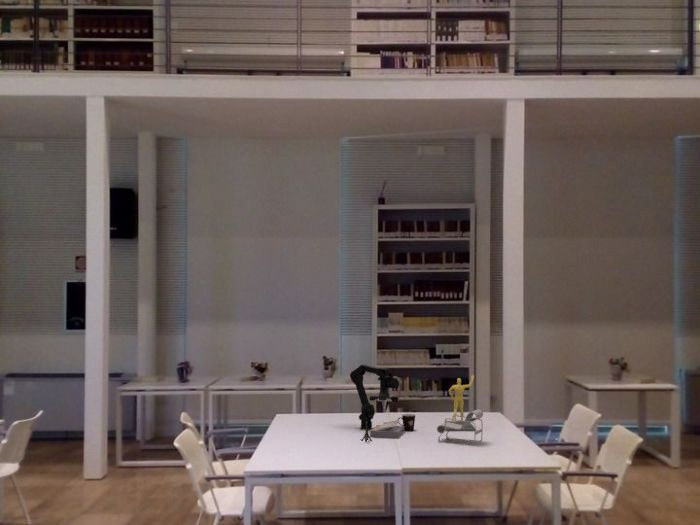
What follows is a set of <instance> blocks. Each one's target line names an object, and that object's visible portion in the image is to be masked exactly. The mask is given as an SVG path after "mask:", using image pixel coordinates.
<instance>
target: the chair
mask: <svg viewBox="0 0 700 525" xmlns="http://www.w3.org/2000/svg"><path fill="white" fill-rule="evenodd" d="M474 415H475V417H474ZM454 416H456V417H458V418H459V417H460V418H461V417H463V418H465V419H464V420H463V422H464V423H463V425H459V424H454V423H450V422H447V423H446V421H448V420H449V421H452V422H453V421H454V420H456V421H462V420H460V419H457V418H456V419H454ZM483 416H484V412H483V411H482V410H481V409H479V408H478V409H475V410H473V411H470V412H468V413H467V415H466V416H464V415H463V416H461V415H458V414H457V415H454V414H453V416H452V418H448V417H447V418H445V419H444V423H441V424H439V425H438V426H437V427H436V431H437V433H439V434H440V435H439V436H438V439H437V440H438V442H439V443H443V444H444V443H445V444H452V443H453V444H455V445H462V443H459V442H452V441H451V442H449V441H441V439H440V438H441V436H442V435H443V434H444V433H445V432H447V433H446V434H445V436H446V439H448V440H456V438H453V437H449V436H448V434H449V432H451V431H450V430H451V429H452V428H453V429H462V428H464V427H466V426H468V425H469V423H471V424H472V425H473V427H474V428H475V430H476V431H474V436H476V435H478V434H480V433H483V426H484V425H483V420H482V419H481V418H482V417H483ZM477 420H479V421H481V429H479V430H477V428H476V424H475V423H474V422H475V421H477ZM446 427H449V428H447V429H446ZM447 430H449V431H447ZM480 437H481V439H480V440H476V437H474V439H468V440H469V441H468V442H474V443H473V444H471V443H464V444H465V446H474V445H475V444H476V442H478V441H479V443H480V442H482V441H483V434H481V436H480ZM458 439H459V441H467V439H464V438H458Z"/></svg>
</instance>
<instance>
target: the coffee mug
mask: <svg viewBox="0 0 700 525" xmlns="http://www.w3.org/2000/svg"><path fill="white" fill-rule="evenodd" d="M400 419H401V420H402V424H401V423H400V422H399V423H398V425H399V426H405V432H414V430H415V423H416V422H415V421H416V414H412V413H403V414H401V417H398V418H397V420H399V421H400Z"/></svg>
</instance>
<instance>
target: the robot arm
mask: <svg viewBox="0 0 700 525" xmlns="http://www.w3.org/2000/svg"><path fill="white" fill-rule="evenodd" d="M366 373H370V374H375V375H376V376H378V378H377V381H379V393H378V395H376V394H375V395H374V394H372V395H370V396H369V398H368V396H367V393H366V389H365V386H364V382H363V381H364V375H365V374H366ZM349 377H350V380H351V382H352V383H353V384H354V385H355V387H356V391H357V395H358V397H359V400H360V403H361V407H360V408H361V409H360V411H361V413H360V414H359V415H358V419H359V420H360V430H366V422H367V428H368V430H372V429H373V421H372V420H373V419H374V417H375V414H376V409H375V407H374V404H371V403H370V401H375V400H377V403H379V405H380V408H381V411H382V412H384V410H385V412H387V410H388V408H389V405H390V403H391V402H399V401H400V396H399V395H392V396H390V395H391V394H390V389H395V390H396V389H397V390H398V389H399V387H400V380H398V377H394V375H393V374H392V372H391V370H390V368H389V367H376V366H372V365H368V364H361V365H359V366H357V368H355V369H354V370H352V371H351V372H350V374H349ZM384 401H385V409H384Z"/></svg>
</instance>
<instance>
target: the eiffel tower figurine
mask: <svg viewBox="0 0 700 525" xmlns="http://www.w3.org/2000/svg"><path fill="white" fill-rule="evenodd" d="M362 438H363V439H360V440H361V441H363V440H365V442H364V443H368V442H367V440H370V441H371V442H373V439H371V437H370V433H369V429H368V428H367V422H366V429H365V432H364V435H363V437H362Z"/></svg>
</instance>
